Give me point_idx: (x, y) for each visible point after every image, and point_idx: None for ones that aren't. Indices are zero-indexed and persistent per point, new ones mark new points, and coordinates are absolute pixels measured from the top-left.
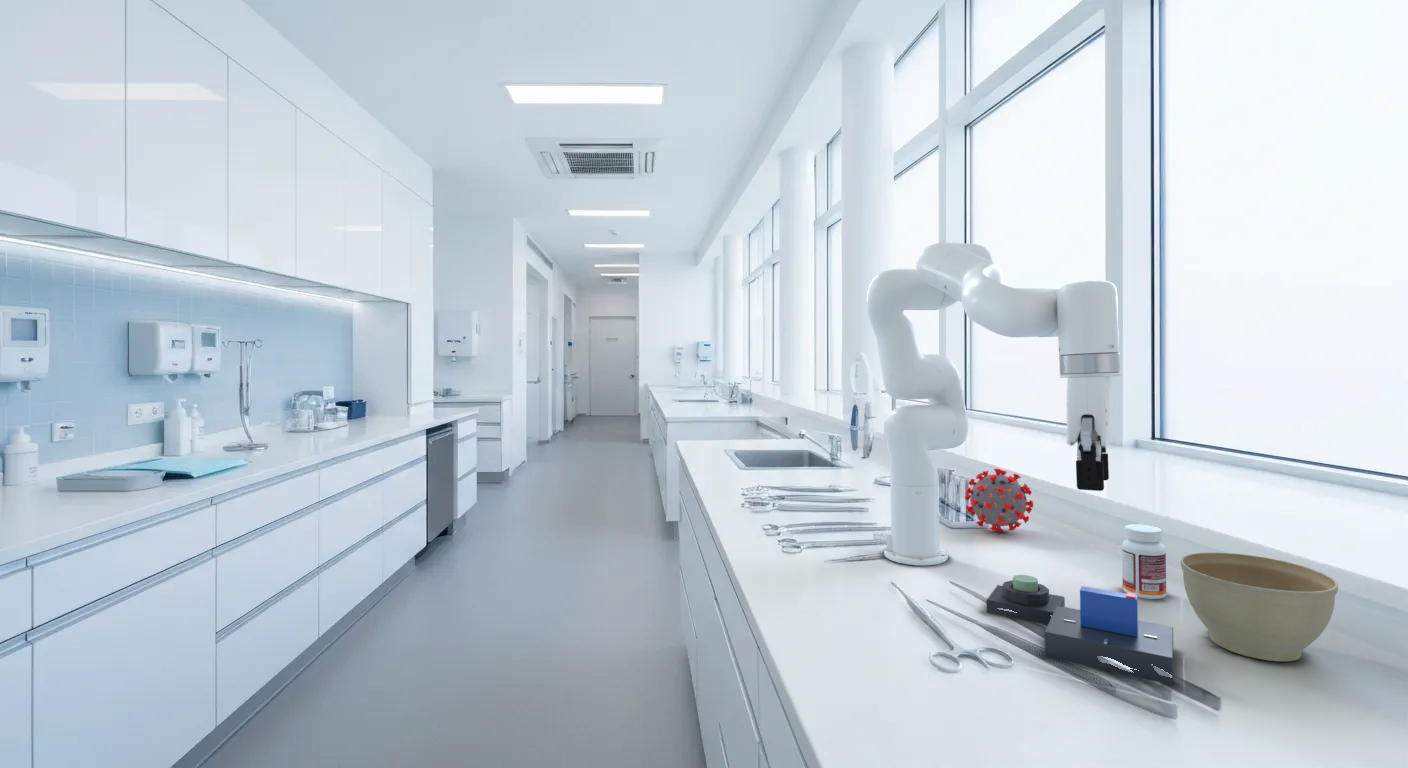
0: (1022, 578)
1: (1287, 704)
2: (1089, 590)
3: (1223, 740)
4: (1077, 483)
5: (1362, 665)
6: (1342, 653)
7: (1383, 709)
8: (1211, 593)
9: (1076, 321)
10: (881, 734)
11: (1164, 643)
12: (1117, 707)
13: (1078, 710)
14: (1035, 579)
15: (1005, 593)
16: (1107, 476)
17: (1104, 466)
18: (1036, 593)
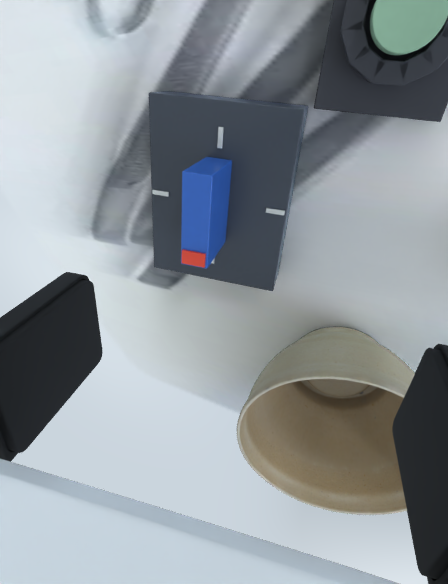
0: (407, 1)
1: (187, 339)
2: (190, 189)
3: (81, 269)
4: (54, 284)
5: None
6: None
7: (220, 399)
8: (273, 370)
9: None
10: None
11: (198, 267)
12: (80, 186)
13: (44, 142)
14: (407, 45)
15: None
16: (395, 441)
17: (411, 485)
18: (356, 54)
